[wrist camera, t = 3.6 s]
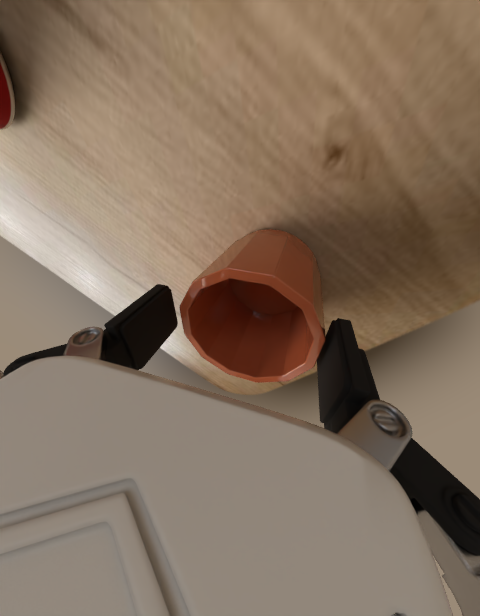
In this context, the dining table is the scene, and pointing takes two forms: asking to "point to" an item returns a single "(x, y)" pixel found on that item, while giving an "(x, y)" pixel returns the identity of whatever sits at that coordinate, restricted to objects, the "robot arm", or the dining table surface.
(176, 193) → the dining table surface
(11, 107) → the soda can
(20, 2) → the dining table surface
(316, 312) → the cup
